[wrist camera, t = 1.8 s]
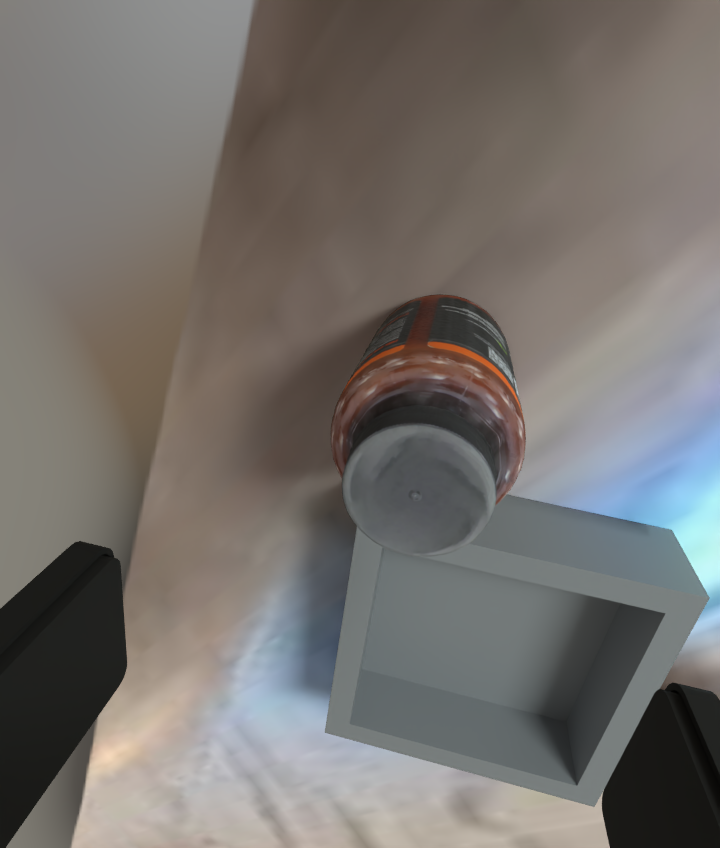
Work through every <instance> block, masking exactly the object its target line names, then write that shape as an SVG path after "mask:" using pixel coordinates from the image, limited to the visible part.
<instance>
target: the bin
mask: <svg viewBox="0 0 720 848" xmlns="http://www.w3.org/2000/svg"><path fill="white" fill-rule="evenodd" d="M708 600H709V596H708V595H707V593H706V591H705V589H704V587H703V585H702V584H701V582H700V580H699V578H698V576H697V575H696V573H695V571H694V569H693V567H692V566H691V564H690V562H689V560H688V558H687V557H686V555H685V553H684V551H683V549H682V548H681V546H680V544H679V542H678V540H677V539H676V537H675V535H674V533H673V531H672V530H669V529H665V528H660V527H655V526H651V525H646V524H641V523H636V522H632V521H627V520H622V519H618V518H613V517H608V516H604V515H599V514H594V513H590V512H585V511H580V510H576V509H571V508H566V507H561V506H557V505H552V504H547V503H543V502H538V501H533V500H529V499H524V498H519V497H515V496H510V495H505V497H504V498H503V499H502V500H501V501H500V502H499V503H498V504H497V505H496V506H495V509H494V512H493V514H492V517H491V520H490V522H489V523H488V524H487V526H486V527H485V528H484V530H483V531H482V532H481V533H480V534H479V536H478V537H477V538H475V539H474V540H473V541H472V542H471V543H470V544H469V545H467V546H465V547H462V548H460V549H459V550H457V551H454V552H451V553H448V554H445V555H438V556H431V557H414V556H409V555H404V554H399V553H396V552H393V551H391V550H388V549H386V548H383V547H382V546H380V545H379V544H377V543H375V542H374V541H372V540H371V539H370V538H368V537H367V536H366V535H365V534H364V533H363V532H361V531H360V530H359V528H358V527H357V530H356V536H355V543H354V549H353V555H352V562H351V568H350V575H349V581H348V587H347V594H346V600H345V607H344V613H343V619H342V626H341V632H340V639H339V645H338V651H337V658H336V664H335V671H334V677H333V683H332V690H331V696H330V703H329V709H328V715H327V722H326V728H325V733H328V734H332V735H336V736H339V737H343V738H346V739H350V740H354V741H357V742H361V743H364V744H368V745H372V746H375V747H379V748H383V749H386V750H390V751H393V752H397V753H401V754H404V755H408V756H412V757H415V758H419V759H422V760H426V761H430V762H433V763H437V764H440V765H444V766H448V767H451V768H455V769H459V770H462V771H466V772H469V773H473V774H477V775H480V776H484V777H488V778H491V779H495V780H498V781H502V782H506V783H509V784H513V785H517V786H520V787H524V788H527V789H531V790H535V791H538V792H542V793H545V794H549V795H553V796H556V797H560V798H564V799H567V800H571V801H574V802H578V803H582V804H585V805H589V806H593V807H594V806H595V805H596V803H597V801H598V799H599V797H600V796H601V794H602V792H603V790H604V788H605V787H606V785H607V783H608V781H609V779H610V777H611V775H612V773H613V771H614V769H615V767H616V766H617V764H618V762H619V760H620V758H621V756H622V754H623V752H624V750H625V748H626V746H627V745H628V743H629V741H630V739H631V737H632V735H633V733H634V731H635V729H636V727H637V725H638V724H639V722H640V720H641V718H642V716H643V714H644V712H645V710H646V708H647V706H648V704H649V703H650V701H651V699H652V697H653V695H654V693H655V692H656V691H657V690H658V689H660V687H661V685H662V683H663V681H664V680H665V678H666V676H667V674H668V672H669V671H670V669H671V667H672V665H673V663H674V661H675V660H676V658H677V656H678V654H679V652H680V651H681V649H682V647H683V645H684V643H685V642H686V640H687V638H688V636H689V634H690V632H691V631H692V629H693V627H694V625H695V623H696V622H697V620H698V618H699V616H700V614H701V613H702V611H703V609H704V607H705V605H706V603H707V602H708Z"/></svg>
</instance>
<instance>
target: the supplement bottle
mask: <svg viewBox="0 0 720 848" xmlns="http://www.w3.org/2000/svg"><path fill="white" fill-rule="evenodd" d="M525 440H526V437H525V425H524V420H523V415H522V408H521V403H520V399H519V395H518V390H517V385H516V379H515V376H514V372H513V366H512V362H511V358H510V352H509V349H508V346H507V342H506V339H505V337H504V335H503V333H502V331H501V329H500V327H499V326H498V324H497V323H496V321H494V319H493V318H492V317H491V316H490V315H489V313H487V312H486V311H485V310H484V309H482V308H481V307H479V306H478V305H477V304H475V303H472V302H471V301H469V300H467V299H464V298H461V297H456V296H450V295H430V296H424V297H420V298H417V299H414V300H412V301H409V302H408V303H406V304H404V305H403V306H401V307H400V308H398V309H397V310H396V311H394V312H393V313H392V314H391V315H390V316H389V317H388V318H387V319H386V321H385V322H384V323H383V324H382V325H381V327H380V328H379V329H378V331H377V333H376V335H375V336H374V338H373V339H372V342H371V343H370V345H369V347H368V348H367V350H366V352H365V354H364V355H363V357H362V359H361V361H360V363H359V364H358V366H357V368H356V369H355V371H354V373H353V375H352V376H351V378H350V380H349V382H348V383H347V385H346V387H345V389H344V390H343V392H342V394H341V396H340V398H339V400H338V403H337V405H336V408H335V412H334V416H333V419H332V425H331V446H332V453H333V459H334V461H335V464H336V468H337V470H338V472H339V474H340V476H341V478H342V494H343V500H344V503H345V506H346V509H347V512H348V514H349V516H350V517H351V519H352V520H353V522H354V523H355V524H356V526H357V527H358V528H359V530H360V531H361V532H363V533H364V534H365V535H366V536H367V537H368V538H370V539H371V540H372V541H374V542H375V543H377V544H379V545H380V546H382V547H383V548H386V549H388V550H391V551H393V552H396V553H399V554H404V555H409V556H414V557H431V556H438V555H445V554H448V553H451V552H454V551H457V550H459V549H460V548H462V547H465V546H467V545H469V544H470V543H471V542H472V541H473V540H474V539H475V538H477V537H478V536H479V534H480V533H481V532H482V531H483V530H484V528H485V527H486V526H487V524H488V523H489V522H490V520H491V517H492V514H493V512H494V509H495V506H496V505H497V504H498V503H499V502H500V501H501V500H502V499H503V498H504V497H505V495H506V494H507V493H508V492H509V491H510V490H511V488H512V486H513V484H514V483H515V481H516V479H517V477H518V474H519V472H520V470H521V468H522V462H523V460H524V453H525Z"/></svg>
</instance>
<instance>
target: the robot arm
mask: <svg viewBox="0 0 720 848" xmlns="http://www.w3.org/2000/svg"><path fill="white" fill-rule="evenodd" d="M126 668H127V654H126V640H125V625H124V610H123V595H122V580H121V566H120V561H119V560H118V559H116V558H114V555H113V551H112V550H111V549H109V548H106V547H102V546H98V545H93V544H89V543H85V542H81V541H79V542H75V543H74V544H72V545H71V546H70V547H69V548H68V549H66V550H65V551H64V552H63V553H62V554H61V555H60V556H59V557H57V558H56V559H55V560H54V561H53V562H52V563H51V564H50V565H49V566H47V567H46V568H45V569H44V570H43V571H42V572H41V573H40V574H39V575H37V576H36V577H35V578H34V579H33V580H32V581H31V582H30V583H28V584H27V585H26V586H25V587H24V588H23V589H22V590H21V591H20V592H19V593H17V594H16V595H15V596H14V597H13V598H12V599H11V600H10V601H8V602H7V603H6V604H5V605H4V606H3V607H2V608H1V609H0V848H6V846H7V845H8V843H9V842H10V841H11V839H12V838H13V836H14V835H15V833H16V832H17V831H18V829H19V827H20V826H21V825H22V823H23V822H24V821H25V819H26V818H27V816H28V815H29V814H30V812H31V811H32V809H33V808H34V806H35V805H36V803H37V802H38V801H39V799H40V798H41V796H42V795H43V793H44V792H45V791H46V789H47V788H48V786H49V785H50V784H51V782H52V781H53V779H54V778H55V776H56V775H57V774H58V772H59V771H60V769H61V768H62V766H63V765H64V764H65V762H66V761H67V759H68V758H69V757H70V755H71V754H72V752H73V751H74V749H75V748H76V747H77V745H78V743H79V742H80V741H81V739H82V738H83V736H84V735H85V734H86V732H87V731H88V729H89V728H90V727H91V725H92V724H93V722H94V721H95V720H96V718H97V717H98V715H99V714H100V712H101V711H102V710H103V708H104V707H105V705H106V704H107V702H108V701H109V700H110V698H111V697H112V695H113V694H114V692H115V691H116V690H117V688H118V687H119V685H120V684H121V682H122V680H123V678H124V675H125V672H126ZM602 811H603V817H604V822H605V827H606V831H607V836H608V840H609V845H610V848H720V700H719V699H718V697H717V696H716V695H715V694H714V693H713V692H711V691H707V690H702V689H698V688H694V687H690V686H686V685H681V684H677V683H671V684H669V685H668V686H667V688H666V689H665V690H662V689H658V690H657V691H656V692H655V693H654V695H653V697H652V699H651V701H650V703H649V704H648V706H647V708H646V710H645V712H644V714H643V716H642V718H641V720H640V722H639V724H638V725H637V727H636V729H635V731H634V733H633V735H632V737H631V739H630V741H629V743H628V745H627V746H626V748H625V750H624V752H623V754H622V756H621V758H620V760H619V762H618V764H617V766H616V767H615V769H614V771H613V773H612V775H611V777H610V779H609V781H608V783H607V785H606V787H605V789H604V792H603V797H602Z"/></svg>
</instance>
